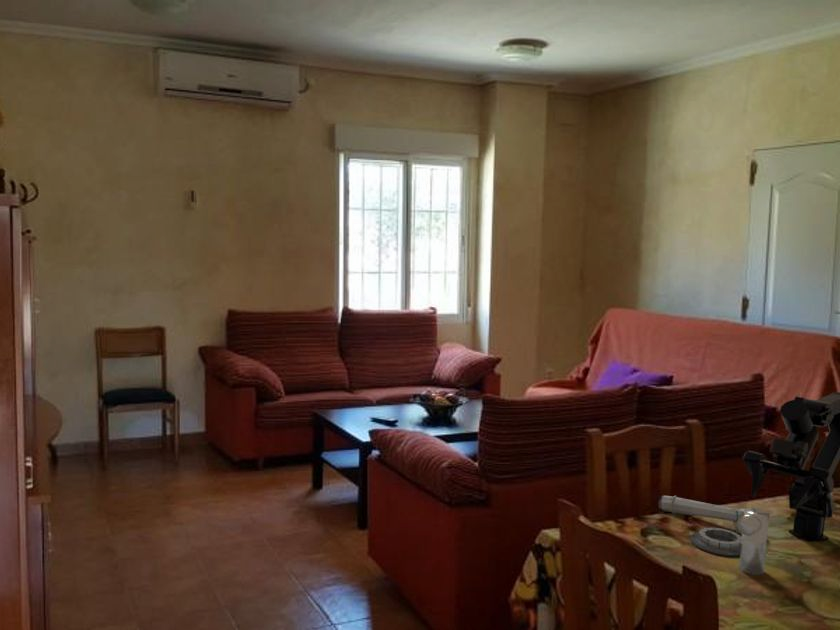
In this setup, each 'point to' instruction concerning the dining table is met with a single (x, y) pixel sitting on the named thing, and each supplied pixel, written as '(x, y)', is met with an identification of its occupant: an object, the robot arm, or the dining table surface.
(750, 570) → the elbow
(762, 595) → the dining table surface
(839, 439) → the robot arm
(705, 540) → the collar
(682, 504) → the grey pipe
